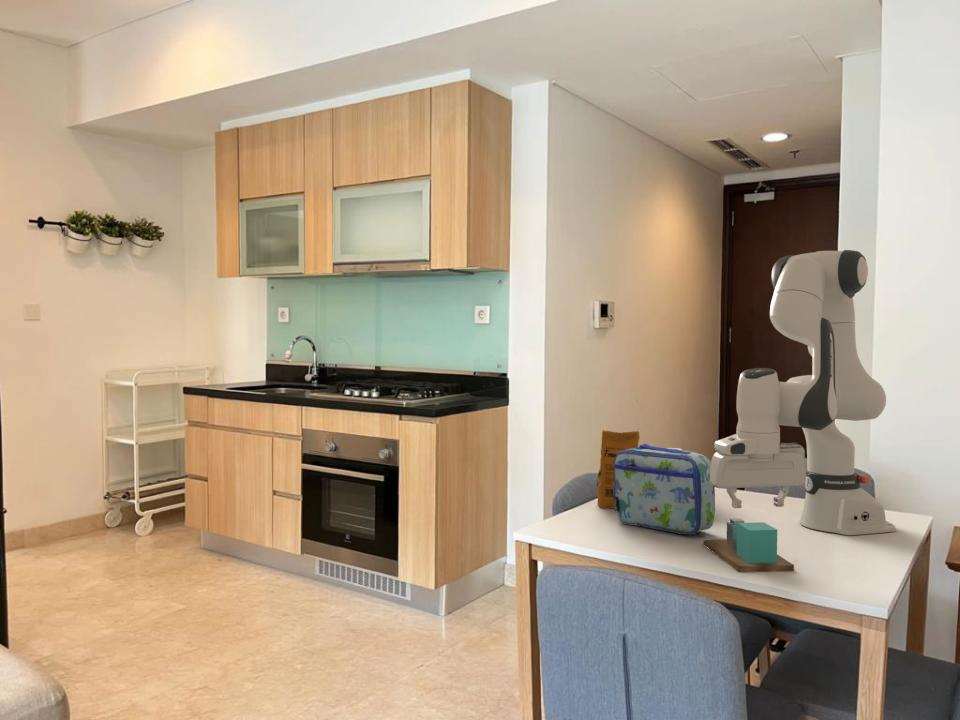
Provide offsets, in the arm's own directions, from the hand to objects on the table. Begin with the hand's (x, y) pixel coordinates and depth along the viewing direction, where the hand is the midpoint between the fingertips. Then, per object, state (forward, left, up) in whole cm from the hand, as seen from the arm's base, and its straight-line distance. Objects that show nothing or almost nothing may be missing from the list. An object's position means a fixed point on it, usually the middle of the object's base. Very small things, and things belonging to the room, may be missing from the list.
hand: (757, 506), depth 161 cm
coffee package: (+16, -55, -13) cm, 59 cm away
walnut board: (0, -5, -13) cm, 13 cm away
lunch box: (+11, -31, -13) cm, 35 cm away
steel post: (0, -10, -11) cm, 15 cm away
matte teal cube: (0, 0, -11) cm, 11 cm away
